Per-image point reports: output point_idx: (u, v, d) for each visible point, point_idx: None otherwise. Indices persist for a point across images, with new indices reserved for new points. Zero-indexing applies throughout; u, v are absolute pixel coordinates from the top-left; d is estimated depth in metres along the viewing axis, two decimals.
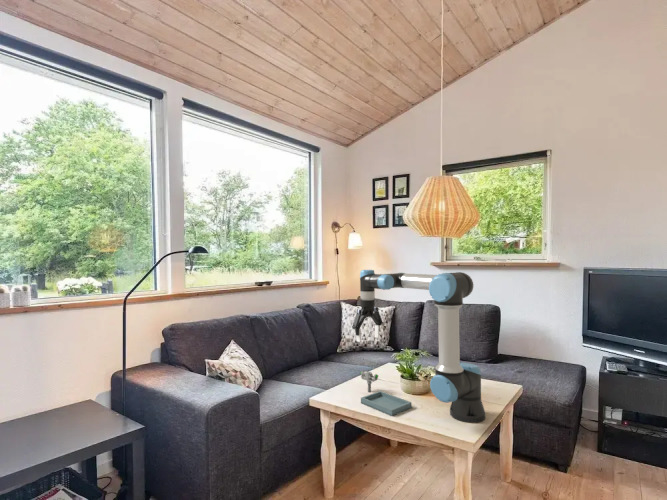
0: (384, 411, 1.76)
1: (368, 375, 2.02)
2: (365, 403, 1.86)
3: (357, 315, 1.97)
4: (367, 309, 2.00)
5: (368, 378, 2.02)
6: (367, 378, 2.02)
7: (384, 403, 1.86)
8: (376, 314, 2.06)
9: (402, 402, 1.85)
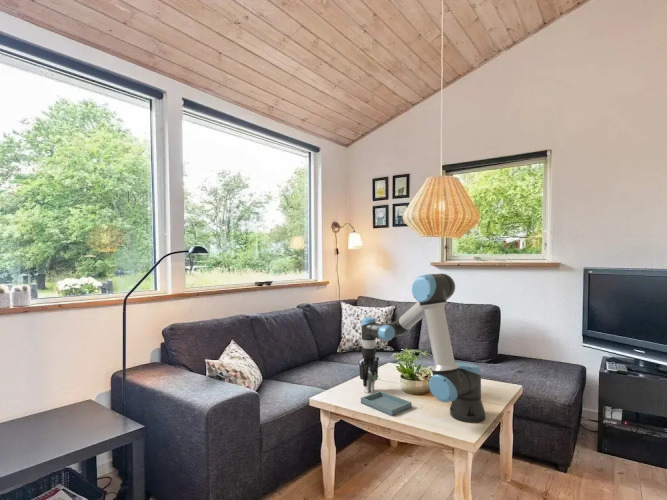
0: (384, 411, 1.76)
1: (368, 375, 2.02)
2: (365, 403, 1.86)
3: (360, 367, 2.00)
4: (367, 356, 2.01)
5: (368, 378, 2.02)
6: (367, 378, 2.02)
7: (384, 403, 1.86)
8: (375, 364, 2.06)
9: (402, 402, 1.85)
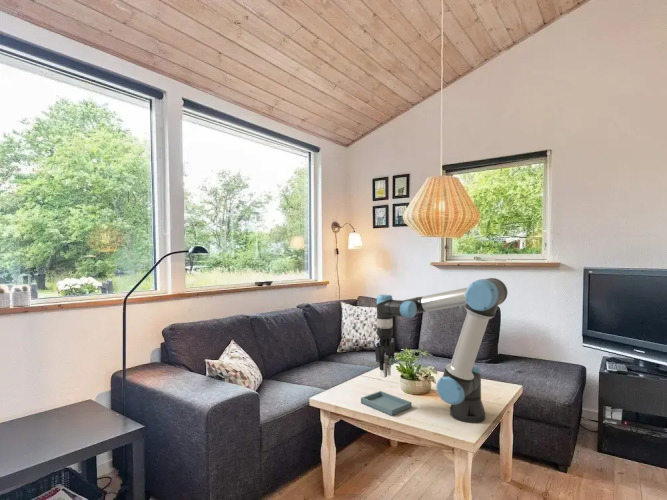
0: (384, 411, 1.76)
1: (384, 358, 1.84)
2: (365, 403, 1.86)
3: (376, 349, 1.81)
4: (384, 336, 1.83)
5: (384, 362, 1.84)
6: None
7: (384, 403, 1.86)
8: (391, 346, 1.88)
9: (402, 402, 1.85)
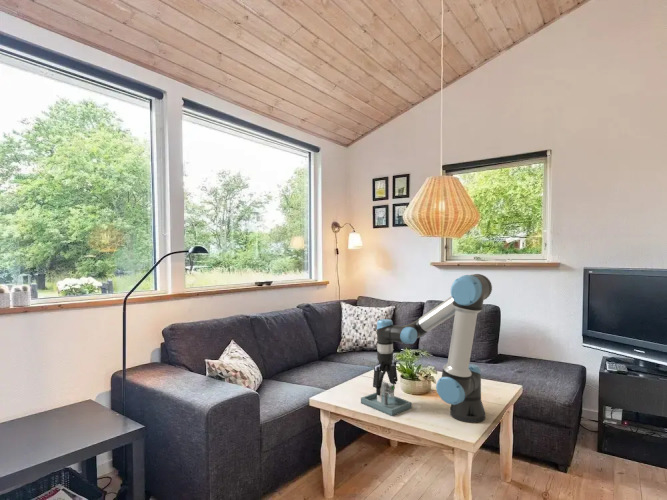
0: (384, 411, 1.76)
1: (384, 386, 1.84)
2: (365, 403, 1.86)
3: (375, 373, 1.81)
4: (384, 362, 1.83)
5: (384, 389, 1.84)
6: (383, 389, 1.84)
7: None
8: (393, 369, 1.88)
9: (402, 402, 1.85)
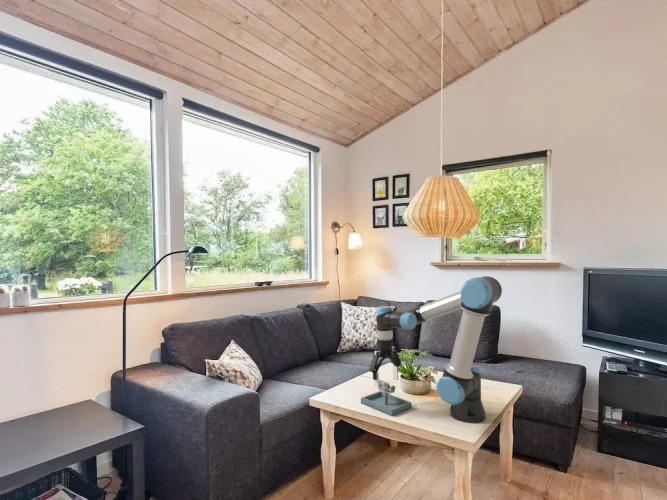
0: (384, 411, 1.76)
1: (384, 386, 1.84)
2: (365, 403, 1.86)
3: (374, 357, 1.80)
4: (385, 350, 1.83)
5: (384, 389, 1.84)
6: (383, 389, 1.84)
7: None
8: (394, 354, 1.89)
9: (402, 402, 1.85)
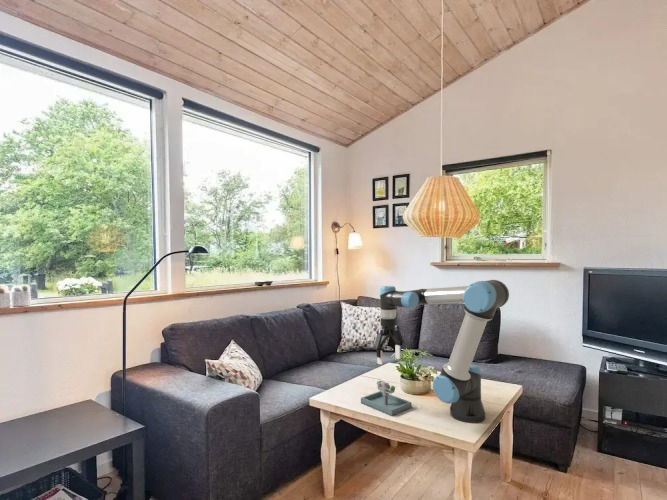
0: (384, 411, 1.76)
1: (384, 386, 1.83)
2: (365, 403, 1.86)
3: (378, 335, 1.83)
4: (388, 328, 1.86)
5: (384, 389, 1.84)
6: (383, 389, 1.84)
7: None
8: (397, 333, 1.92)
9: (402, 402, 1.85)
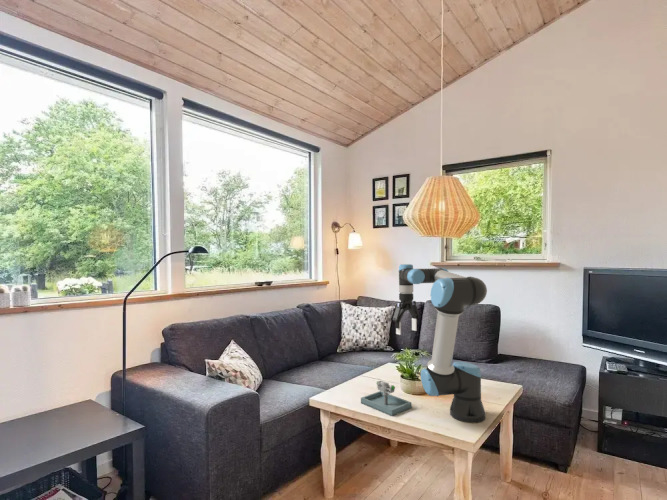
0: (384, 411, 1.76)
1: (384, 386, 1.84)
2: (365, 403, 1.86)
3: (397, 308, 2.01)
4: (406, 303, 2.05)
5: (384, 389, 1.84)
6: (383, 389, 1.84)
7: None
8: (413, 308, 2.11)
9: (402, 402, 1.85)
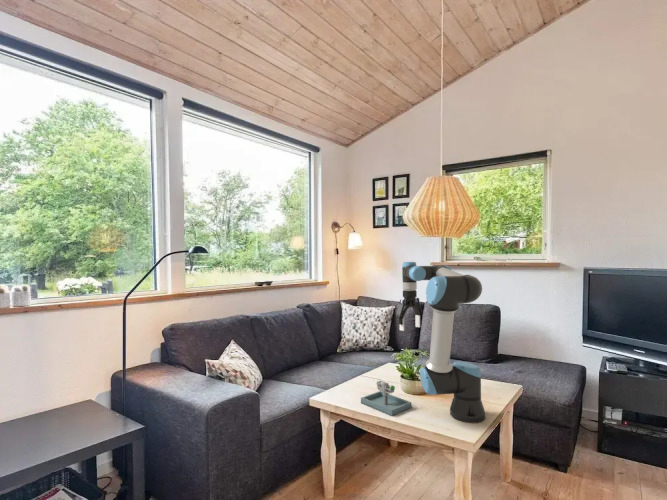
0: (384, 411, 1.76)
1: (384, 386, 1.84)
2: (365, 403, 1.86)
3: (400, 305, 2.05)
4: (409, 299, 2.08)
5: (384, 389, 1.84)
6: (383, 389, 1.84)
7: None
8: (417, 304, 2.14)
9: (402, 402, 1.85)
